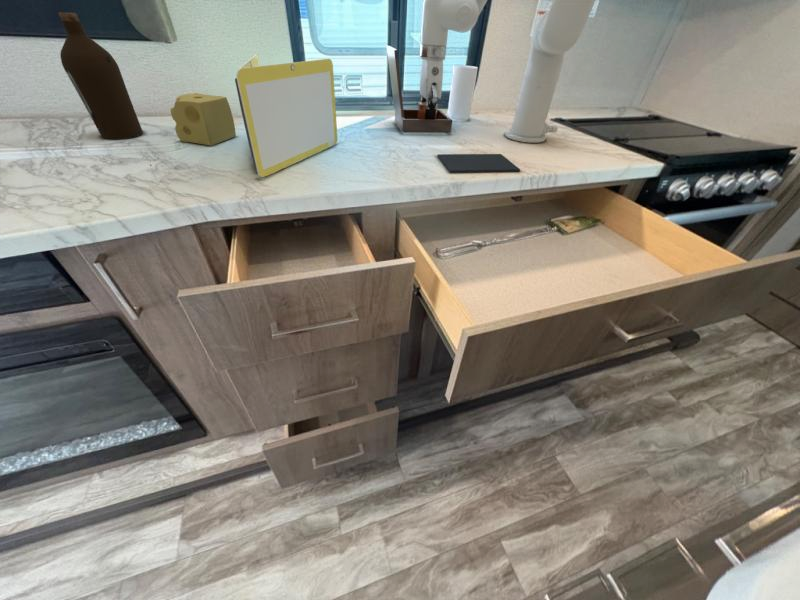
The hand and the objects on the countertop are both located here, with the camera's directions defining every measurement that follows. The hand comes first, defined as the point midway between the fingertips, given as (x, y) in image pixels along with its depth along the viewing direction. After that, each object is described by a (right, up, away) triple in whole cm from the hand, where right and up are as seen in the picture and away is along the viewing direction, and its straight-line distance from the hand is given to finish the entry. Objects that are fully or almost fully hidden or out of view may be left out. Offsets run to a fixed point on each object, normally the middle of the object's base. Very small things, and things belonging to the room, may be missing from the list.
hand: (426, 120), depth 108 cm
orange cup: (0, -1, +1) cm, 2 cm away
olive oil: (-84, -14, -18) cm, 87 cm away
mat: (+11, -23, -23) cm, 35 cm away
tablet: (-35, -21, -23) cm, 47 cm away
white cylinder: (+13, +8, +15) cm, 21 cm away
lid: (-10, +7, -8) cm, 15 cm away
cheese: (-61, -15, -17) cm, 65 cm away
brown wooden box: (-2, -2, +1) cm, 3 cm away
